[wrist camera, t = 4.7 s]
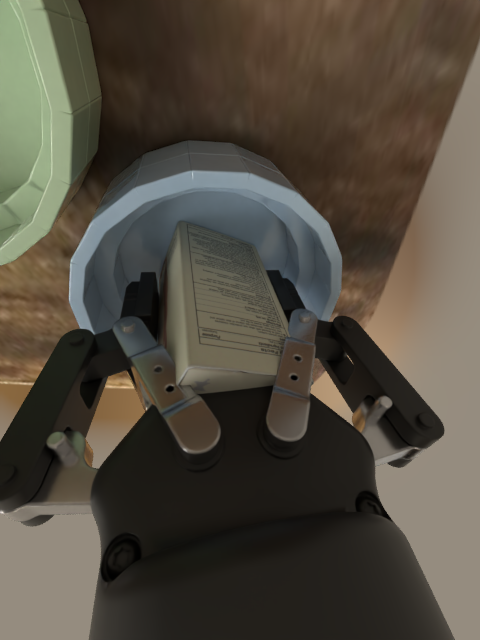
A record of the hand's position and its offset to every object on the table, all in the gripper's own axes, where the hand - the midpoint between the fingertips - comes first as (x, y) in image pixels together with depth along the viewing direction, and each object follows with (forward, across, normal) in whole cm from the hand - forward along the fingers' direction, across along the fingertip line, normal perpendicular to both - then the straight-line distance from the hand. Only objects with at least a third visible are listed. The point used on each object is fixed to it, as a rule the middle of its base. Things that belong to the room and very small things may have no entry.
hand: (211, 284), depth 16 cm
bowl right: (+3, 0, 0) cm, 3 cm away
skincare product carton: (+2, 0, 0) cm, 2 cm away
